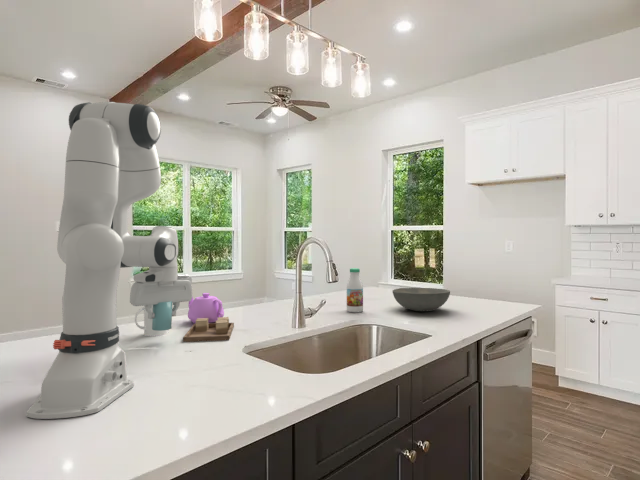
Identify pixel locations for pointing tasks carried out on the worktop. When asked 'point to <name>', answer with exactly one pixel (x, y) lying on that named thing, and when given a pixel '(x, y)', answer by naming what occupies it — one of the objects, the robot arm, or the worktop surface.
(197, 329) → the oak block
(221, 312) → the teapot
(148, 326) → the mug
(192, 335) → the walnut tray
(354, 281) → the milk bottle
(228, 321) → the oak block
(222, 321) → the oak block
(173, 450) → the worktop surface
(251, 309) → the worktop surface
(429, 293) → the bowl
